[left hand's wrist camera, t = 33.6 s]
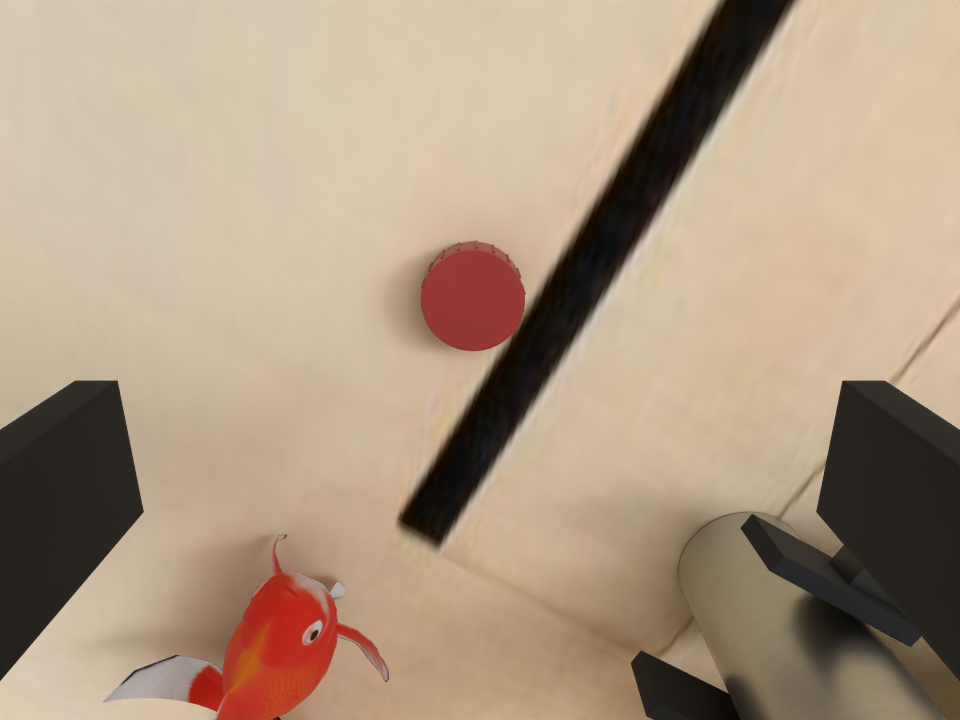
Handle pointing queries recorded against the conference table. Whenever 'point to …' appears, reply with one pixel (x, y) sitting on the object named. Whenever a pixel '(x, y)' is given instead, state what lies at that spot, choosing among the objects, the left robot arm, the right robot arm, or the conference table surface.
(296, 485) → the conference table surface
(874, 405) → the left robot arm
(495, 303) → the cap
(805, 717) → the bottle
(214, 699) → the fish
